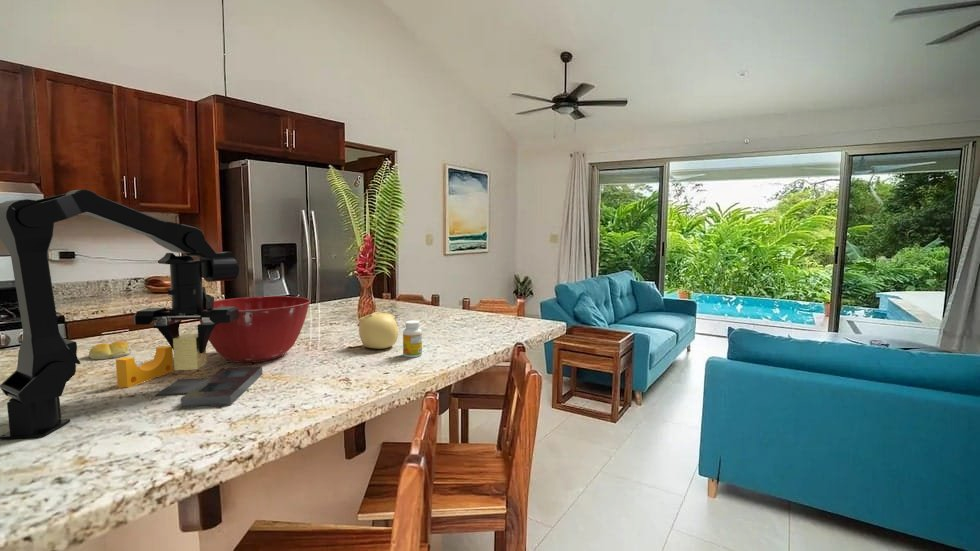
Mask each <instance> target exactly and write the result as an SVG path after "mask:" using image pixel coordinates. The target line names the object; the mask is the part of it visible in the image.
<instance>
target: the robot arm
mask: <svg viewBox="0 0 980 551" xmlns="http://www.w3.org/2000/svg"><path fill="white" fill-rule="evenodd" d="M81 214H84V215H87V216H90V217H91V218H92V217H93V218H95V219H97V220H101V221H102V222H103V221H104V222H105V223H106V222H107V223H109V224H111V225H114V226H118V227H120V228H123V229H125V230H129V231H131V232H135V233H137V234H140V235H142V236H145V237H146V238H148V239H150V240H152V241H153V242H155V243H156V244H157V245H159V246H161V247H163V248H164V249H165V250H166V249H167V251H171V252H166V253H165V254H164V256H163V257H161V258H160V259H158V260H157V263H158V264H161V265H169V272H170V273H169V274H170V276H169V277H170V289H168V290H167V293H168V294H167V295H168V296H171V308H169V309H168V308H167V307H148V308H143V309H141V310H137V311H136V312H135V313H134V316H133V325H134V326H138V325H140V326H141V325H142V326H145V325H151V324H152V323H153V322H154V325H152V328H153V329H157V330H158V331H159V333H161V335H162V336H163V337H164V338H165V340H166V341H167V342H168V344H169V346H171V347H172V351H174V348H173V338H175V337H178V336H180V324H181V320H199V319H202V321H203V323H199V324H197V334H198V341H199V350H200V353H201V354H202V353H204V351H205V349H206V350H207V345H208V343H209V337H210V334H211V332H212V330H213V328H214V327H215V326H216V325H217V324H219V323H228V322H232V321H234V320H236V319H238V318H239V312H238V309H237V308H236V307H217V308H215V309H213V308H214V301H215V297H214V296H212V295H211V294H207V291H206V286H203V279H204V280H205V281H206V282H208V283H213V282H224V281H233V280H236V279H237V278H238V277H239V272H240V266H239V264H238V261H237V260H236V258H234V256H233V255H234V253H233V252H232V251H221V252H215V250H214V249H213V247H212V246H210V244H209V243H208V242H207V240H206V237H205V234H204V232H203V231H202V230H201V229H200V228H198V227H195V226H191V225H187V224H183V223H179V222H171V221H167V220H162V219H159V218H158V217H157V218H156V217H153V216H151V215H149V214H147V213H143V212H142V211H139V210H136V209H134V208H131V207H129V206H126V205H125V204H121V203H119V202H116V201H113V200H111V199H108V198H106V197H103V196H101V195H98V193H95V192H94V191H92V190H89V189H76V190H74V189H73V190H70V191H68V192H67V193H62V194H58V195H54V196H50V197H49V196H48V197H45V198H41V199H27V198H26V199H14V200H6V201H3V202H1V203H0V240H1V241H2V243H3V246H5V248H6V249H7V251H8V253H9V255H10V259H11V265H12V271H13V278H14V284H15V290H16V295H17V296H16V297H17V303H18V307H19V308H18V310H19V315H20V321H21V327H22V332H23V333H22V334H23V336H22V337H23V338H22V340H21V344H20V346H19V348H18V353H17V365H16V370H15V371H14V372H13V373H12V374H10V375H9V376H8V377H7V378H6V379H5V380H4V381H3V382H2V383H0V390H1V391H2V393H3V394H4V395H5V396H6V397H10V399H9V400H8V402H6V406H7V408H6V409H7V417H8V428H9V429H8V430H9V431H8V432H5V433H3V434H1V435H0V440H12V439H13V440H14V439H27V438H42V437H45V436H47V435H49V434H51V433H53V432H54V431H57V430H58V429H59V428H61V427H63V426H65V425H66V424H69V423H70V422H71V418H62V412H61V403H60V402H61V401H60V397H62V395H63V393H64V390H65V387H66V385H67V382H69V381H70V380H71V379H72V377H74V376H75V374H76V372H77V365H80V364H81V361H80V360H79V358H78V355H77V352H78V344H77V341H73V340H71V339H67V338H63V337H62V335H61V333H60V329H59V322H58V316H57V311H56V310H57V309H56V302H55V296H54V290H53V289H54V288H53V283H52V275H51V268H50V264H49V257H48V252H49V249H50V246H51V243H52V240H53V237H54V227H55V226H54V225H55V223H58V222H62V221H64V220H68V219H70V218H74V217H75V216H78V215H81ZM175 253H178V254H180V253H181V254H183V255H175ZM193 257H195V258H197V257H198V258H199V259H194V258H193ZM204 310H207V311H204Z"/></svg>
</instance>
